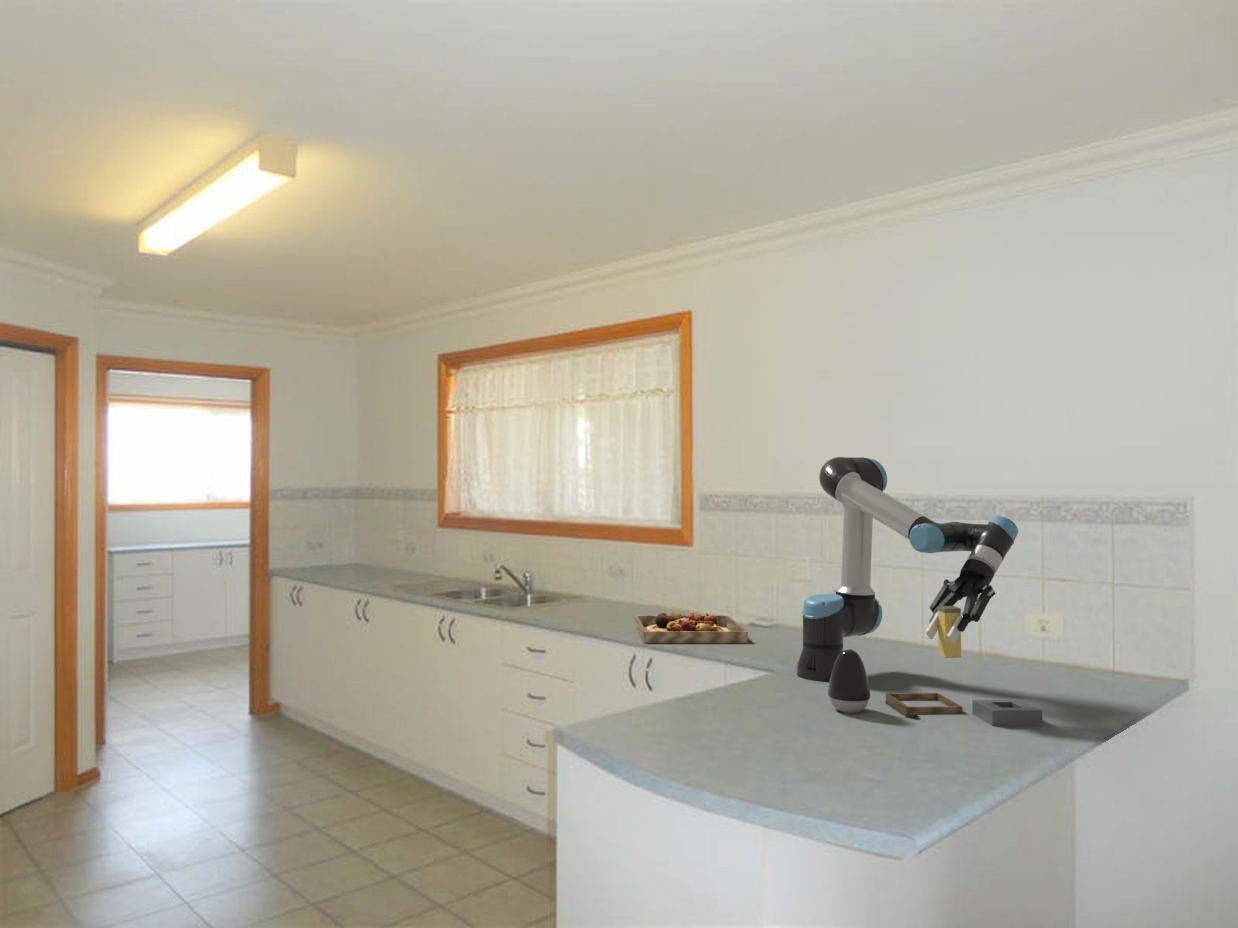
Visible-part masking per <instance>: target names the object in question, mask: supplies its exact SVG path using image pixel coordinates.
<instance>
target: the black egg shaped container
mask: <svg viewBox="0 0 1238 928" xmlns="http://www.w3.org/2000/svg"><path fill="white" fill-rule="evenodd" d="M868 677H869V676H868V675H867V670H866V667H865V664H864V662H863V660H862V657H861V656H860V654H859V653H858V652H857V651H855V650H853V649H843V651H842V652H841V653H840V654H839V655H838V657H837V659H836V661H835V663H834V666H833V669H832V673H831V677H830V681H828V682H829V683H828V688H827V689H828V690H827V695H828V697H829V700H830V704H831V705H832V706H833V708H835V709H836V710H837V711H839V712H842V713H847V714H857V713H860V712H862V711H864V710H865V709H866V708H867V706H868V704H869V700H870V698H871V689H870V683H869V678H868Z"/></svg>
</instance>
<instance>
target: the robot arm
mask: <svg viewBox="0 0 1238 928" xmlns="http://www.w3.org/2000/svg"><path fill="white" fill-rule="evenodd" d="M819 471H820V472H819V477H818V478H819V483H820V486H821V488H822V489H823V491H824V492H825V493H826V494H828V495H829V496H830V497H831V498H833V499H835V500H837V501H838V502H839V503H840V504H841V505H842V506H843V521H842V522H843V523H842V525H843V526H842V548H841V549H842V551H841V552H842V555H841V578H840V581H841V582H840V586H838V587H837V588H836V589H835V594H834V593H823V594H820V593H819V594H813V595H811V596H808V597H806V598H805V599H804V601H803V605H802V606H803V608H802V650H801V652H800V656H799V659H798V662H797V664H796V676H799V677H801V678H804V679H808V680H815V681H827V682H830V677H831V673H832V669H833V666H834V663H835V661H836V659H837V657H838V655H839V654H840V653H841V652H842V651H844V638H849V637H856V636H858V637H861V636H865V635H868V634H871V633H873V632H875V631H876V630H877V629H878V628H879V627H880V625H881V623H882V619H883V609H882V608H883V607H882V606H881V604H880V601H879V600H878V599H877V598H876V592H875V590H873V588H872V587H871V575H872V573H871V572H872V549H873V548H872V544H873V543H872V542H873V541H872V540H873V523H874V522H873V519H874V520H876V521H878V522H879V523H881V524H883V525H884V526H886V527H888V528H889V529H891V530H893V531H895V532H896V533H898V534H899V535H900V536H903V537H904V538H905V539H907V540H909V542H910V543H909V544H910V545H911V547H912V548H913V549H914V550H915V551H917V552H918V553H921V554H922V553H924V554H935V553H947V552H948V553H949V552H971V553H970V554H969V555H968V557H967V559H966V561H965V563H964V564H963V566H962V567H961V569H960V572H959V576H958V577H957V578H955V580H951V581H950V580H949V579H945V580H943V583H942V587H941V589H939V591H938V593H937V595H936V596H935V598H934V599H933V600H932V602H931V604H929V609H930V611H931V612H932V616H931V617H930V619H929V622H928V623H929V625H928V626H927V628H926V630H925V633H926V635H927V636H928V639H931V640H933V639H934V637H935V636H936V634H937V633H938V608H937V606H955V604H956V603H958V602H959V601H961V600H962V599H964V598H965V602H964V603H965V604H964V607H963V609H962V610H963V611H962V612H961V616H958V617H957V619H956V621H955V623H954V624H953V626H952V628H951V629H950V631H949V633H948V635H947V637H948V639H949V640H950V642H951V643H955V641H956V639H957V638H958V636H959V634H960V633H961V634H962V633H964V631H965V630H966V628H967V627H968V625H969V623H971V622H975V623H978V622H979V621H980V619H981V617H982V615H983V613H984V611H985V610H986V608H987V606H988V605H989V602H990V600H991V599H992V598H993V597H994V596H995V595H996V591H995V589H994V588H993V586H992V585H990V584H991V583H992V581H993V579H994V577H995V575H996V573H997V571H998V570H999V568H1000V566H1001V564H1002V563H1003V561H1004V559H1005V557H1006V556H1007V554H1008V552H1009V551H1010V549H1011V548H1012V546H1013V545H1014V543H1015V541H1016V539H1017V536H1018V533H1019V528H1018V525H1016V523H1015V522H1014V521H1013V520H1012V519H1010V518H1008V517H1005V516H1002V515H1000V516H999V515H997V516H993V517H992V518H991V519H990V520H989V521H988V523H987V524H985V523H984V524H983V523H979V524H977V523H967V522H959V521H947V522H946V521H944V523H943V522H942V523H938V522H935V521H934V520H932V519H930V518H928V517H926V516H925V515H923V514H921V513H920V512H919V511H917V510H915V509H913V508H912V507H910V506H908V505H906V504H905V503H903V502H901V501H899V500H897V499H895V498H894V497H893V496H890V495H889V494H887V493H885V492H884V491H885V490H886V488H887V486H888V475H887V471H886V469H885V468H884V466H883V465H882V463H880V462H879V461H878V460H876V459H874V458H869V457H864V456H862V457H850V456H847V457H845V456H837V457H833V458H831V459H829V460H827V461H826V462H825V463H824V464H823V465H822V467H821V469H820V470H819Z"/></svg>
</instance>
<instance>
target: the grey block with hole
mask: <svg viewBox="0 0 1238 928" xmlns="http://www.w3.org/2000/svg"><path fill="white" fill-rule="evenodd" d="M971 709H972V712H971V714H972V715H973V716H975V717H977V718H978V719H980V720H982V721H983V722H985V723H987V724H988V725H990V726H992V727H995V726H996V727H1004V726H1005V727H1009V726H1010V727H1014V726H1015V727H1016V726H1017V727H1021V726H1022V727H1023V726H1028V727H1029V726H1032V727H1033V726H1035V727H1036V726H1043V709H1040V708H1039V707H1036V706H1034V705H1032V704H1030V703H1029V702H1026V701H1024V700H1022V699H972V707H971Z"/></svg>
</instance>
